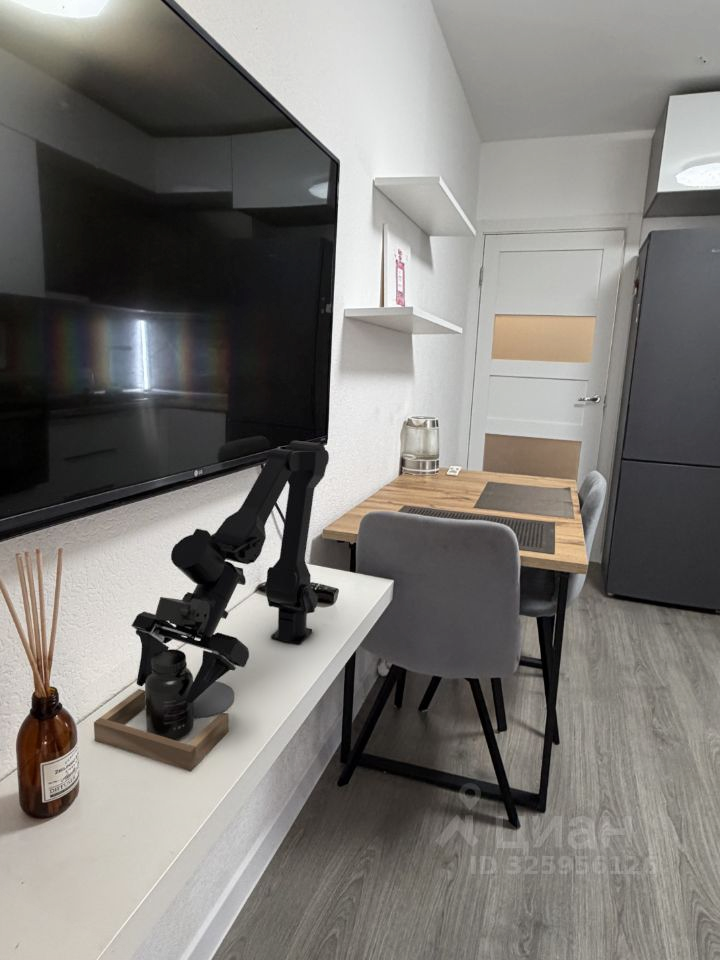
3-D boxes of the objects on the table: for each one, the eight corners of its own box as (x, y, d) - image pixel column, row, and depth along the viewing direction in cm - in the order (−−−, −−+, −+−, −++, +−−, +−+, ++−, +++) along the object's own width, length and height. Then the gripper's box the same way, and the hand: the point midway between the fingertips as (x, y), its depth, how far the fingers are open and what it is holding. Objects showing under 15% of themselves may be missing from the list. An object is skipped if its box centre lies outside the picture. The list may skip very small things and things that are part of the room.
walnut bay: (139, 705, 95) (138, 688, 94) (228, 731, 90) (228, 713, 89) (94, 740, 86) (93, 722, 86) (190, 771, 81) (190, 751, 80)
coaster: (195, 678, 104) (195, 675, 104) (246, 691, 100) (246, 688, 100) (158, 709, 94) (158, 706, 94) (212, 724, 91) (212, 721, 91)
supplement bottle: (139, 726, 90) (136, 653, 87) (182, 710, 94) (181, 641, 92) (157, 750, 85) (154, 673, 82) (201, 732, 89) (201, 659, 87)
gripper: (138, 562, 92) (82, 659, 84) (238, 586, 85) (186, 695, 77) (175, 593, 101) (127, 683, 93) (268, 617, 93) (224, 717, 86)
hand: (163, 693), depth 87 cm, fingers open, 9 cm apart
